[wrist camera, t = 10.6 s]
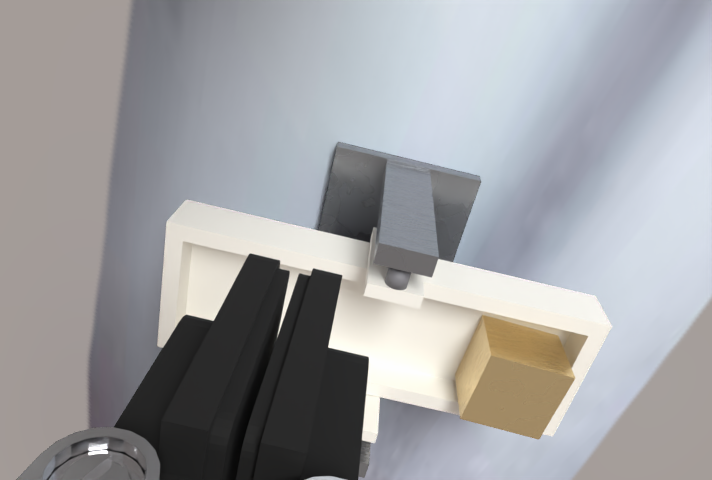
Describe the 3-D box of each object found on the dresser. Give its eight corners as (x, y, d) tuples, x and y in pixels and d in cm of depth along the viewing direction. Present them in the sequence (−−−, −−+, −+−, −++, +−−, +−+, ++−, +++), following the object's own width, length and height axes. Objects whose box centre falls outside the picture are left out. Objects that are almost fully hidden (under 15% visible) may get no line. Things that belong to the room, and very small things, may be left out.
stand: (338, 141, 39) (308, 222, 27) (479, 176, 39) (509, 270, 27) (297, 330, 46) (260, 456, 35) (415, 358, 46) (418, 492, 35)
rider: (482, 314, 35) (491, 355, 32) (558, 335, 35) (575, 378, 32) (454, 374, 37) (460, 418, 34) (526, 393, 38) (539, 439, 34)
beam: (204, 154, 36) (146, 213, 28) (593, 247, 37) (647, 331, 29) (188, 314, 42) (135, 402, 34) (524, 391, 43) (552, 495, 35)
